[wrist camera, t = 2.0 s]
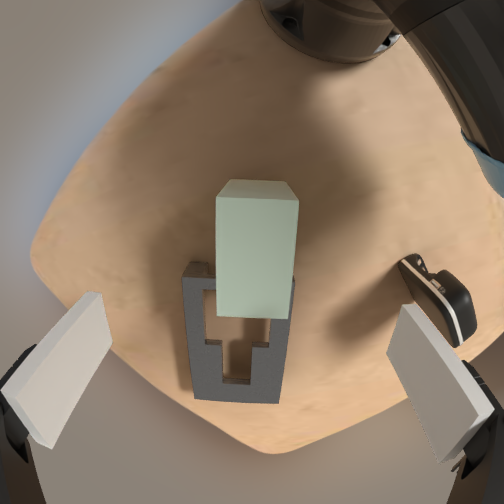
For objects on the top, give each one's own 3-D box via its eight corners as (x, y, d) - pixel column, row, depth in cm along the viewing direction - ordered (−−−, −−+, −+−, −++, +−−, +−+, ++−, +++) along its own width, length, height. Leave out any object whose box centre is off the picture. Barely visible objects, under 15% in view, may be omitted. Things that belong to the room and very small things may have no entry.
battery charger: (436, 284, 32) (484, 333, 22) (414, 301, 33) (457, 356, 23) (419, 243, 31) (474, 287, 20) (394, 261, 31) (443, 313, 21)
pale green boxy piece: (229, 174, 28) (208, 197, 17) (286, 177, 28) (306, 201, 17) (228, 250, 31) (210, 315, 20) (281, 252, 31) (293, 318, 20)
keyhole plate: (189, 261, 32) (181, 277, 28) (291, 266, 32) (294, 282, 28) (198, 379, 38) (194, 398, 35) (277, 383, 38) (278, 403, 35)
